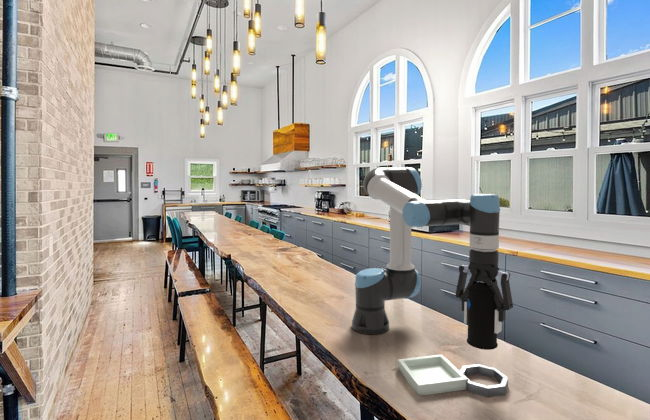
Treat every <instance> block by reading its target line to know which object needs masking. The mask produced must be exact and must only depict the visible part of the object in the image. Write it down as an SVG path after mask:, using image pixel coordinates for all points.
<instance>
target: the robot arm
mask: <svg viewBox="0 0 650 420" xmlns="http://www.w3.org/2000/svg"><path fill="white" fill-rule="evenodd" d="M362 184H363V185H362V186H363V190H364V192H365V193H366V195H368V196H369V197H370V198H371V199H374V200H378V201H379V200H380V201H382V202H383V203H384V204H385V205H388V206H389V262H388V263H387V264H386V265H385V271H384V269H382V268H379V267H373V268H372V267H369V268H364V269H362V270H360V271H358V272H357V273H356V274H355V283H354V287H355V288H354V289H355V310H354V314H353V316H352V319H351V328H352V330H353V331H355V332H357V333H359V334H364V335H380V334H381V335H382V334H383V333H386V332H388V331H389V330H390V321H389V318H388V314H387V312H386V310H385V309H386V308H385V305H386V304H385V303H386V302H387V301H392V300H402V299H409V298H413V297H415V296H417V294H419V292H420V289H421V284H422V281H421V280H422V279H421V277H420V273H419V270H417V269H415V268H416V266H415V265H414V264H413V263H412V228H422V227H423V228H424V227H434V226H435V227H436V226H447V225H449V226H452V225H453V226H454V225H464V226H469V248H470V249H469V250H468V251H469V252H468V253H469V255H468V256H469V257H468V258H469V261H468V262H469V263H468V265H467V264H462V265H459V266H458V271H459V274H458V280H457V284H456V290H455V298H458V299H460V300H461V311H462V312H463V324H464V325H468V289H467V288H468V287H470V286H471V285H472V284H474V283H476V282H479V281H482V282H484V283H487V285H488V287H489V288H490V289H491V290H492V291H493V293H495V295H494V300H495V303H496V305H497V308H498V309H496V310H495V330H494V333H496V334H497V335H498V334H499V333H502V329H503V328H502V327H503V323H504V322H505V321H506V311H510V310H511V309H513V307H514V303H513V302H514V301H513V297H512V291H511V290H512V289H511V285H510V284H511V283H510V277H511V273H510V272H508V271H506V272H504V271H501V270H500V268H499V255H500V254H499V247H500V239H499V238H500V236H499V235H500V212H501V207H500V206H501V204H500V196H499V195H498V194H496V193H473V194H471V195H470V197H469V199H461V198H449V199H437V200H435V199H434V200H427V199H425V198H423V197H421V196H419V195H420V193H421V190H422V187H423V186H422V185H423V184H422V178H421V175H420V174H419V172H418V171H417V169H415V168H414V167H410V166H409V167H408V166H389V167H385V166H384V167H383V166H380V167H376V168H373V169H371V170H370V171H368V172H367V174H365V177H364V179H363V183H362ZM469 272H470V273H471V276H470V277H469V280H468V281H469V282H468V283H467V286H466V282H467V279H468V273H469ZM497 276H498V277H499V280H500V287H501V290H500V288H499V285H498V280H497V278H496V277H497Z"/></svg>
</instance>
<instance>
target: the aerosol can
mask: <svg viewBox="0 0 650 420" xmlns="http://www.w3.org/2000/svg"><path fill="white" fill-rule="evenodd" d="M467 289H468V324H467V337H466V343H467V344H468V345H470V346H471V347H473V348H475V349H479V350H484V351H486V350H487V351H489V350H491V351H492V350H495V349H497V348H498V346H499V345H498V334H496V333H494V330H495V310H496V309H498V308H497V305H496V303H495V300H494V295H495V293H493V291H492V290H491V289H490V288H489V287H488V285H487V283H484V282H482V281H478V282H476V283H474V284H472V285H471V286H470V287H468V288H467Z"/></svg>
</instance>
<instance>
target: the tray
mask: <svg viewBox="0 0 650 420" xmlns="http://www.w3.org/2000/svg"><path fill="white" fill-rule="evenodd" d="M397 369H398V371H399V372H400V373H401V374H402V377H404V379H405V380H406V381H407V382H408V384H409V385H410V387H411V388H412V389H413V391H414V392H415V393H416V395H417V396H418V397H420V396H421V397H422V396H428V395H434V394H435V395H436V394H442V393H450V392H457V391H465V390H466V381H468V379H469V378H468V377H467V376H465V375H464V374H463V373H462V372H460V369H458V368H457V367H456V366H455V365H454V364H453V363H452V362H451V361H450V360H449V359H448V358H447V357H445V356H444V354H441V353H440V354H433V355H425V356H417V357H416V356H415V357H408V358H399V359H397Z"/></svg>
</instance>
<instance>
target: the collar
mask: <svg viewBox="0 0 650 420" xmlns="http://www.w3.org/2000/svg"><path fill="white" fill-rule="evenodd" d="M459 371H460V372H462V373H463V374H464V375H465V376H466V377H467V376H473V375H474V376H475V375H481V376H485V377H489V378H493V379H494V380H496V382H498V384H491V385H486V384H483V383H478V382H474V381H471V380H470V379H469V378H468V381H466V389H465V390H466V391H467V392H469V393H472V394H476V395H479V396H483V397H486V398H492V397H499V396H506V394H507V391H508V388H509V377H508V376H507V375H506V374H504V372H501V371H500V370H499V369H497V368H495V367H492V366H487V365H483V364H479V363H477V364H475V363H474V364H468V365H462V367H461V368H460V369H459Z"/></svg>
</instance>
